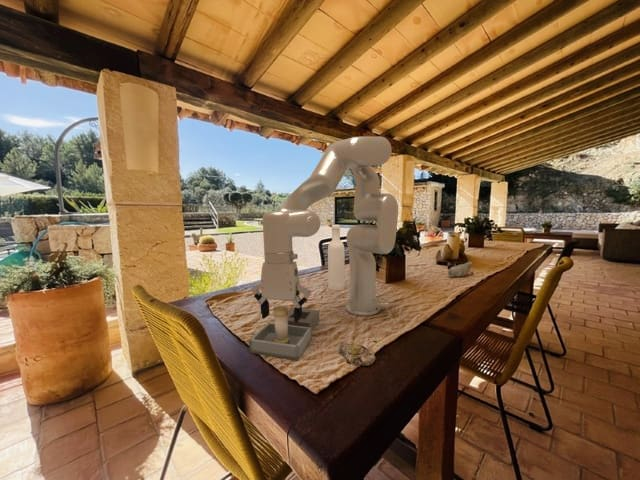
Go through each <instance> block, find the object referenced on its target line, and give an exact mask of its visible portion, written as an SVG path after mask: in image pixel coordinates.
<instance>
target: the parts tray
mask: <svg viewBox="0 0 640 480" xmlns="http://www.w3.org/2000/svg"><path fill="white" fill-rule="evenodd" d="M288 336H289V344H283V343H276V342H275V322H267V323H266V324H265V325H264V326H263V327H261V329H259V331H257V332H256V333H255V334H254V335H253V336H252V337H251V338H250V339H248V348H249V349H248V350H249V353H251V354H256V355H263V356H270V357H276V358H282V359H287V360H293V361H294V360H295V361H299V360H300V359H301V358H302V355H304V352H305V351H306V349H307V347H308V346H309V344H310V343H311V341H312V340H313V330H312V328H311V327H302V326H294V325H288Z"/></svg>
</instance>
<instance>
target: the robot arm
mask: <svg viewBox="0 0 640 480" xmlns="http://www.w3.org/2000/svg"><path fill="white" fill-rule="evenodd" d="M392 151H393V150H392V145H391V143H390V141H389V140H388V139H387V138H386V137H384V136H353V137H349V138H345V139H342V140H338V141H334V142H332V143H330V144H329V146H328V147H327V148H326V150H325V151H324V153H323V154H322V157H320V159H319V162H318V163H317V164H316V167H315V168H314V170H313V171H312V173H311V175H310V176H309V177H307V179H306V180H304V182H302V183H301V184H300V185H299V186H298V187H297V188H296V189H295V190H293V192H292V193H290V194H289V195H288V197H287V199H285V201H284V203H283V205H282V206H281V208H280V210H279V211H275V210H274V211H266V212H264V214H263V216H262V233H263V234H262V235H263V237H262V238H263V250H264V251H263V252H264V253H263V254H264V257H263V258H264V262H263V263H262V266H261V274H260V283H257V284H256V285H253V286H252V287H251V288H250V289H251V293H252V294H253V295H254V298H255V299H256V301H257V302H258V305H259V306H260V314H261V318H262V319H266V318H267V317H268V316H269V315H270V302H269V300H274V301H275V300H277V301H287V302H289V301H290V302H291V303H292V304H293V305H294V307H293V308H294V321H295V322H298V321H299V320H300V318H301V317H302V309H303V305H304V304H305V303H306V302H307V301H308V300H309V297H310V295H311V293H312V290H311V289H308V288H307V287H305V286H304V285H301V281H300V275H299V274H300V273H299V269H298V264H297V261H295V260H297V259H298V254H297V253H294V250H293V238H294V237H296V238H300V237H301V238H310V237H312V236H314V235H316V233H318V232H319V230H320V227H321V219H320V217H319V215H318V213H316V212H315V211H312V210H309V209H308V208H310V207H311V206H313V204H315V203H316V202H319V201H322V200H323V199H326V198H327V197H329V196H330V195H332V194H333V193H334V192H335V191H336V190H337V187H338V186H339V184H340V182H341V181H342V178H343V176H344V175H345V173H346V171H347V170H348V169H350V170H351V173H352V174H353V176H354V179H355V189H354V201H353V216H354V217H355V218H356V220H358V221H363V222H377V223H376V225H375V224H374V225H372V224H356V225H355V224H354V226H351V227H350V228H349V229H348V230H347V233H346V245H347V249H348V256H349V302H347V303H346V304H345V311H347V312H348V313H350V314H352V315H355V316H360V317H361V316H362V317H364V316H365V317H366V316H373V315H377V314H379V312H380V310H381V308H383V309H388V308H389V302H386V301H385V300H381V299H380V300H379V299H378V296H377V293H376V292H377V291H376V288H377V287H376V285H377V284H376V283H377V274H376V273H377V272H376V271H377V263H376V259H375V256H374V255H373V254H379V255H388V254H389V253H391V252H392V251H393V249H394V247H395V243H396V239H397V230H398V229H397V227H398V221H399V220H398V218H399V204H398V201H397V199H396V197H395V196H394V195H393V194H391V193H385V192H384V193H380V185H381V184H380V183H381V182H380V178H379V177H380V176H379V175H378V173H377V172H376V170H375V169H374V167H375V166H379V165H381V166H382V165H384V164H386V163H388V162H389V160H390V159H391V156H392ZM373 166H374V167H373ZM259 289H260V290H259ZM301 293H302V294H303V296H302V298H301V297H300V295H301Z"/></svg>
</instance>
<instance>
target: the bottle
mask: <svg viewBox="0 0 640 480" xmlns="http://www.w3.org/2000/svg"><path fill="white" fill-rule="evenodd" d="M345 257H346V256H345V245H344V242H342V241H341V225H340V224H332V225H331V240H330V242H328V246H327V281H328V282H327V283H328V284H327V286H328V290H329V291H333V292H334V291H335V292H339V291H344V290H345V287H346V281H345V280H346V277H345V273H346V272H345V266H346V265H345Z"/></svg>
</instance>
